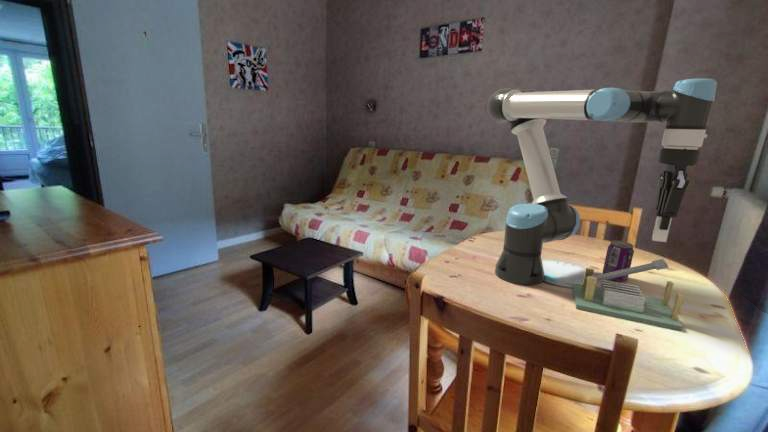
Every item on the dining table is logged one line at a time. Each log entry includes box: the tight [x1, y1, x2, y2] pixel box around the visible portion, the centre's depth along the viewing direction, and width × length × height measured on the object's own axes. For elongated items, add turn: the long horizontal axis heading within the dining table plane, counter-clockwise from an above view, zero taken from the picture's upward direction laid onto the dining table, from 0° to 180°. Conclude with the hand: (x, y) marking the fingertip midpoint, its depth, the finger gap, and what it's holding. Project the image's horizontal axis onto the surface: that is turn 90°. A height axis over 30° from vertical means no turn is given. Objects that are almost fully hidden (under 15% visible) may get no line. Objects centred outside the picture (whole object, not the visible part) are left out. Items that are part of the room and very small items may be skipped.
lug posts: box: [582, 267, 684, 320], centre depth 94 cm, size 21×9×7 cm, turn 65°
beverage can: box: [601, 240, 635, 282], centre depth 112 cm, size 7×7×12 cm
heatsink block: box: [598, 280, 645, 313], centre depth 95 cm, size 9×9×4 cm
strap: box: [586, 258, 669, 283], centre depth 94 cm, size 19×4×2 cm, turn 64°
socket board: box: [572, 282, 683, 332], centre depth 96 cm, size 23×15×1 cm, turn 65°
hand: (658, 240), depth 88 cm, fingers closed
